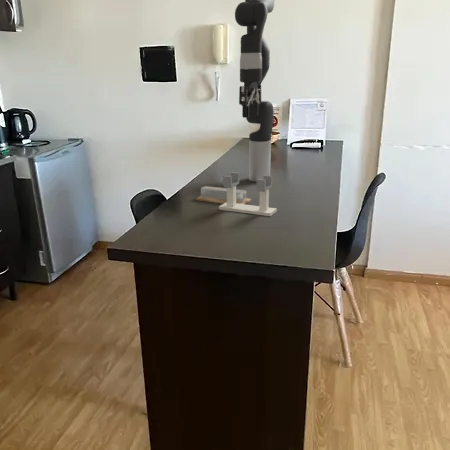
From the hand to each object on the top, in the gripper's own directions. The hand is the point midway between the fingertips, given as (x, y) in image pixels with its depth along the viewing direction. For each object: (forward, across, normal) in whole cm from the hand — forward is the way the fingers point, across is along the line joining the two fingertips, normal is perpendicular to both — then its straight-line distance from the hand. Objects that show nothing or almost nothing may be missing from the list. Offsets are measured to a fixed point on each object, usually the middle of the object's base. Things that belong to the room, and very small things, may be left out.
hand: (250, 116), depth 159 cm
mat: (+30, +6, -8) cm, 32 cm away
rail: (+29, +6, -8) cm, 31 cm away
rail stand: (+30, +14, +5) cm, 33 cm away
